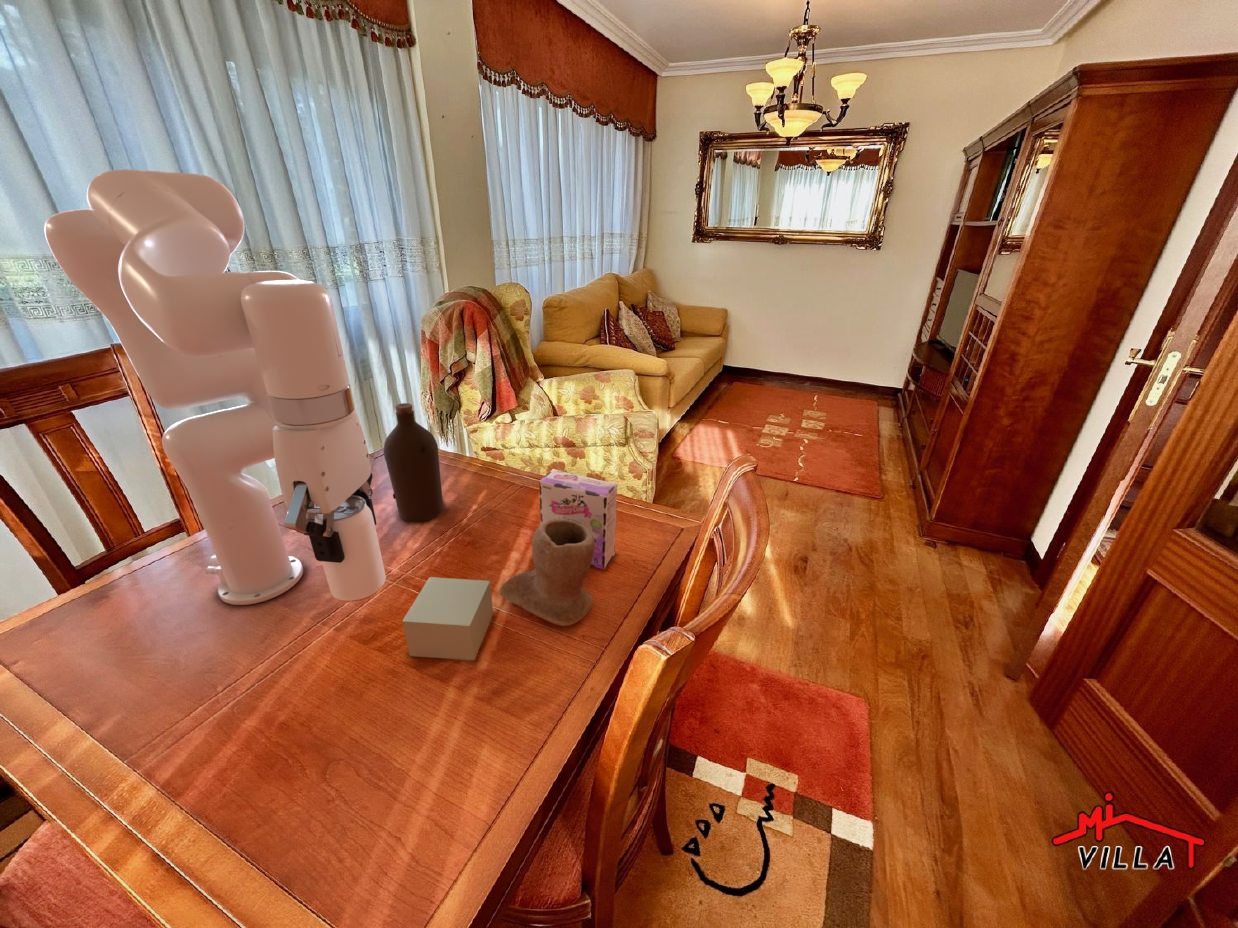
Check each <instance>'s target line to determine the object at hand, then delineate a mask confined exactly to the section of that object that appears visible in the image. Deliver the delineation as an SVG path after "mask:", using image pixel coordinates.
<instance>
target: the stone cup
mask: <svg viewBox="0 0 1238 928" xmlns="http://www.w3.org/2000/svg"><path fill="white" fill-rule="evenodd" d="M594 551H595V541H594V537H593V534H592V533H591V531H590V530H589V529H588V528H587V527H586V526H584V525H582V524H580V523H578V522H575V521H571V520H566V519H553V520H548V521H545V522H543V523H542V524H541V523H540V525H538V527H537V528H536V530H535V531H534V534H533V537H532V543H531V552H532V553H531V554H532V561H533V566H534V569H532V570H529V571H523V572H519V573H517V574H515V575H513V576H512V577H510V578H509V579H507V581H505V582H504V583H503V584H502V585H501V586H500V588H499V591H498V594H499V595H500V596H501V597H502V598H504V599H505V600H507V601H509V602H510V603H512V604H514V605H516V606H517V607H519V608H521V609H523V610H525V611H526V612H529V613H531V614H532V615H534V616H536V617H538V618H541V619H542V620H545V621H547V622H549V623H551V624H553V625H556V626H561V627H570V626H573V625H575V624H576V623H578V622H579V621H581V620H582V619H583V618H585V617H586V616H587V614H588V613H590V611H591V610H592V607H593V602H594V597H593V595H592V594H590V593H589V591H587V590H586V589H585V588H583V584H584V581H585V579H586V577H587V575H588V573H589V571H590V569H591V567H592V566H591V563H592V559H593V556H594Z"/></svg>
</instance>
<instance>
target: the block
mask: <svg viewBox="0 0 1238 928" xmlns="http://www.w3.org/2000/svg"><path fill="white" fill-rule="evenodd" d="M491 587H492V586H491V581H490V580H482V579H465V578H453V577H451V578H449V577H437V576H435V577H434V576H429V577H428V579H427V580H426V582H425V584H424V585H423V587H422V588H421V590H420V592H419V593H418V595H417V596H416V598H415V599H414V601H413V603H412V604H411V606H410V608H409V609H408V611H407V613H406V614H405V616H404V617H403V619H402V621H401V622H402V627H403V632H404V636H405V641H406V646H407V650H408V654H409V657H420V658H432V659H434V658H435V659H445V660H460V661H475V660H476V657H477V655H478V652H479V650H480V648H481V646H482V643H483V641H484V638H485V635H486V633H487V630H488V628H489V625H490V622H491V621H492V618H493V615H494V608H493V598H492V597H493V596H492V588H491Z"/></svg>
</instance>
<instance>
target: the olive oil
mask: <svg viewBox="0 0 1238 928" xmlns="http://www.w3.org/2000/svg"><path fill="white" fill-rule="evenodd" d="M394 407H395V411H396V412H395V416H396V421H397V424H396V425H395V427H393V428H392V430H391V431H390V433H388V435H387V437H386V438H385V441H384V443H383V457H384V461H385V464H386V468H387V471H388V476H389V479H390V483H391V487H392V491H393V494H392V497H393V500H395V502H396V507H397V511H398V515H399V517H400V518H401V520H403V521H406V522H411V523H420V522H421V523H422V522H426V521H430V520H432V519H434V518H437V517H438V516H440V514H442V512H443V511H444V497H443V490H442V479H441V469H440V468H441V467H440V456H439V455H440V454H439V446H438V442H437V439H436V438H435V437H434V435H433V434H432V432H430V431H429V430H428V429H426V428H425V427H424V426H422V425H421V424H419V423H418V422H416V417H415V411H414V410H413V404H411V403H408V402H403V403H399V404H396V405H395V406H394Z"/></svg>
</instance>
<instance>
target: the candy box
mask: <svg viewBox="0 0 1238 928" xmlns="http://www.w3.org/2000/svg"><path fill="white" fill-rule="evenodd" d="M538 482H539V483H538V485H539V487H538V488H539V509H540V525H541V524H542V523H543V522H545V521H548V520H553V519H566V520H571V521H575V522H578V523H580V524H582V525H584V526H586V527H587V528H588V529H589V530H590V531H591V533H592V534H593V537H594V541H595V551H594V556H593V559H592V563H591V566H590V567H593V568H597V569H600V570H605V569H606V567H607V566H608V565H609V563H610V562H611V561H612V559H613V558H614V556H615V555H616V553H615V547H616V545H615V543H616V525H617V523H616V521H617V501H618V500H617V498H618V483H617V482H614V481H607V480H602V479H598V478H594V477H589V476H585V475H581V474H575V473H571V472H567V471H563V470H558V469H557V468H556V469H555V468H553V469H551V470H550V471H548V473H547V474H546V475H545V476H543V477H542V478H541V479H540V480H539V481H538Z"/></svg>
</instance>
